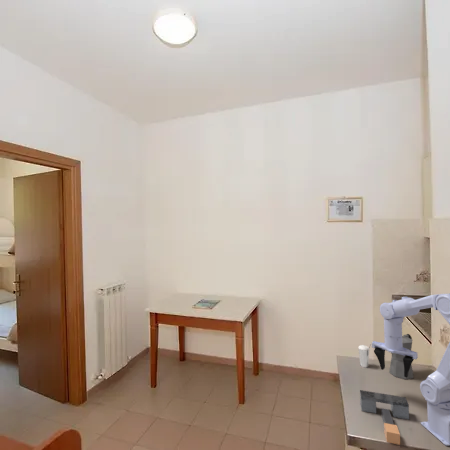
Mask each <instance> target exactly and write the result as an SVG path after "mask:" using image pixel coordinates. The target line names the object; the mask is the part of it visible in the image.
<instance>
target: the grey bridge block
mask: <svg viewBox="0 0 450 450" xmlns="http://www.w3.org/2000/svg"><path fill="white" fill-rule="evenodd" d="M359 399H360V400H359V403H360V404H359V405H360V409H361V412H365V413H371V414H377V403H381V404H386V405H387V404H388V405H390V413H392V414H391V416H392V418H398V419H403V420H408V421H409V420H410V404H409V402H408V400H407V398H406V397H405V396H400V395H393V394H387V393H386V394H385V393H382V392H381V393H380V392H376V391H375V392H374V391H370V390H369V391H368V390H361V389H360V390H359Z"/></svg>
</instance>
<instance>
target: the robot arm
mask: <svg viewBox="0 0 450 450" xmlns="http://www.w3.org/2000/svg"><path fill="white" fill-rule="evenodd" d="M431 308H433V309H434V310H435V311H438V312H439V313H440V315H441V316H442V317H443V319H445V321H446V322H447V323H448V324H449V325H450V293H438V294H437V293H436V294H435V293H434V294H431V295H427V296H424V297H419V298H417V299H415V298H412V297H408V296H402V297H401V299H398V300H397V299H393V300H392V302H382V303H381V304H380V305H379V313H380V315H381V316H382V318H383V332H384V334H383V336H384V342H381V341H375V340H372V342H371V348H373V349H374V350H373V352H374V354H375V356H376V358H377V360H378V364H379V365H380V370H382V371H383V370H385V368H386V361H385V360H386V357H385V355H386V352H387V353H390V354H391V353H397V354H400V355H404V356H405V357H404V358H403V362H404V377H408V373H409V369H410V366H411V365H412V364H413V362H414V360H417V359H418V357H419V355H418V354H419V353H418V352H417V351H414V350H412V349H411V350H409V349H406V348H403V343H402V336H403V322H404V318H406V317H411V316H416V315H418V314H419V313H420V310H424V309H431ZM419 390H420V393H421V395H422V397H424V400H425V401H426V407H427V408H426V409H427V421H420V425H421V426H422V427H424V428H425V429H426V430H427V431H428V432H430V433H431V434H432V435H433V436H434V437H435V438H436V439H438V441H440V442H441V443H443V445H444V446H447V447H448V446H450V341H449V343H448V344H447V346H446V349H445V351H444V353H443V355H442V357H441V359H440V362H439V364H438V366H437V368H436V370H435V371H433V372H432V373H430V374H429V375H427V377H426V379H424V380H422V381H421V382H420V384H419Z"/></svg>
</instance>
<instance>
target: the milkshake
mask: <svg viewBox="0 0 450 450" xmlns="http://www.w3.org/2000/svg"><path fill="white" fill-rule="evenodd" d="M371 347H372V343H371V344H369V346H367V345H365V344H359V346H357V348H358V354H359V364H360V367H362V368H364V369H365V368H369V359H370V358H369V355H370V348H371Z"/></svg>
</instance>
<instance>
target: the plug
mask: <svg viewBox="0 0 450 450" xmlns="http://www.w3.org/2000/svg"><path fill="white" fill-rule="evenodd" d="M380 409H381V419H382V422H383V431H384V432H383V434H384V436H385V440H386V443H388V444H389V443H390V444H395V445H399V446H401V433H400V430H399V427H398V426H397V424H395V423H394V420H393V416H392V414H391V410H390V409H387V408H383V407H381V408H380Z"/></svg>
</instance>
